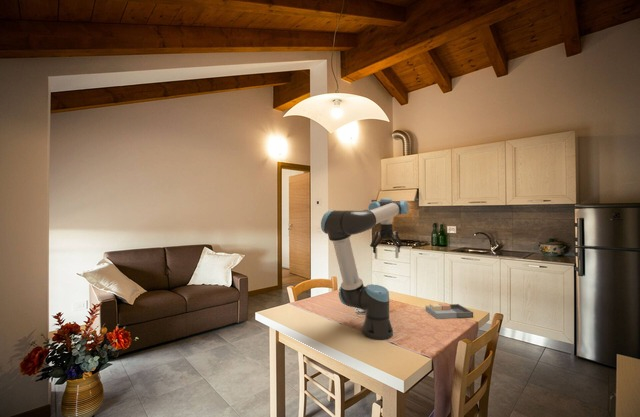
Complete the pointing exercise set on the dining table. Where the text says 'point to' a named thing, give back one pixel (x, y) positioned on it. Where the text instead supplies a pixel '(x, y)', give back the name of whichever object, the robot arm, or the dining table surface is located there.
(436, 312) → the plate
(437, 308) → the tile
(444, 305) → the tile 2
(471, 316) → the box
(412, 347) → the dining table surface
